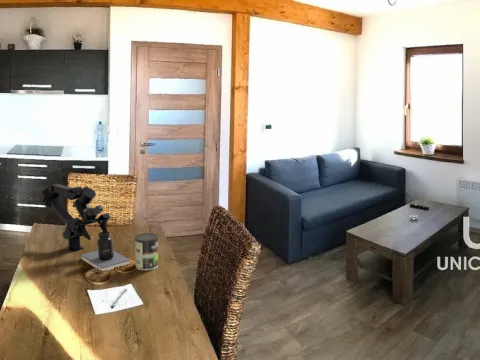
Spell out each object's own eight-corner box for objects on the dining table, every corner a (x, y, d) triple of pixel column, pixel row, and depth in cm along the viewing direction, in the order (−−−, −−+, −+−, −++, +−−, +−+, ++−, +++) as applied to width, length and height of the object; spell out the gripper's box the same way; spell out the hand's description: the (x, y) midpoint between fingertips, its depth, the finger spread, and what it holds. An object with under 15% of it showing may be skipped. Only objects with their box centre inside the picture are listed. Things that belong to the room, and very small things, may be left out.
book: (81, 260, 197) (80, 254, 197) (108, 253, 207) (108, 247, 207) (102, 274, 184) (101, 267, 183) (130, 265, 194) (130, 259, 193)
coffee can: (161, 263, 196) (161, 234, 193) (152, 271, 186) (152, 241, 183) (141, 260, 198) (140, 232, 195) (131, 269, 188) (130, 239, 185)
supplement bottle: (105, 261, 189) (102, 236, 187) (95, 258, 193) (92, 234, 191) (117, 256, 195) (114, 231, 192) (107, 253, 199) (104, 229, 196)
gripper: (72, 204, 188) (87, 233, 184) (107, 196, 203) (122, 223, 198) (63, 217, 194) (78, 245, 190) (98, 209, 209) (112, 235, 205)
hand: (98, 237), depth 196 cm, fingers open, 9 cm apart
